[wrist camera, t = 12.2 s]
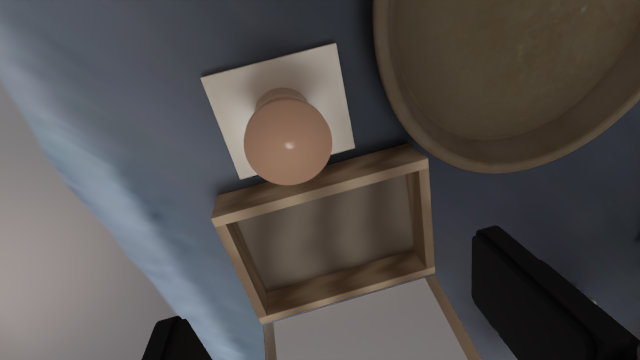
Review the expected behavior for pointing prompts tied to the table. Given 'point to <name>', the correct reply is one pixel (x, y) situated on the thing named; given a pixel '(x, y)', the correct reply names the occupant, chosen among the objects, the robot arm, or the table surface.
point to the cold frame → (330, 232)
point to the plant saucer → (507, 75)
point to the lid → (375, 328)
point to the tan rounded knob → (287, 138)
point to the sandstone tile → (282, 72)
